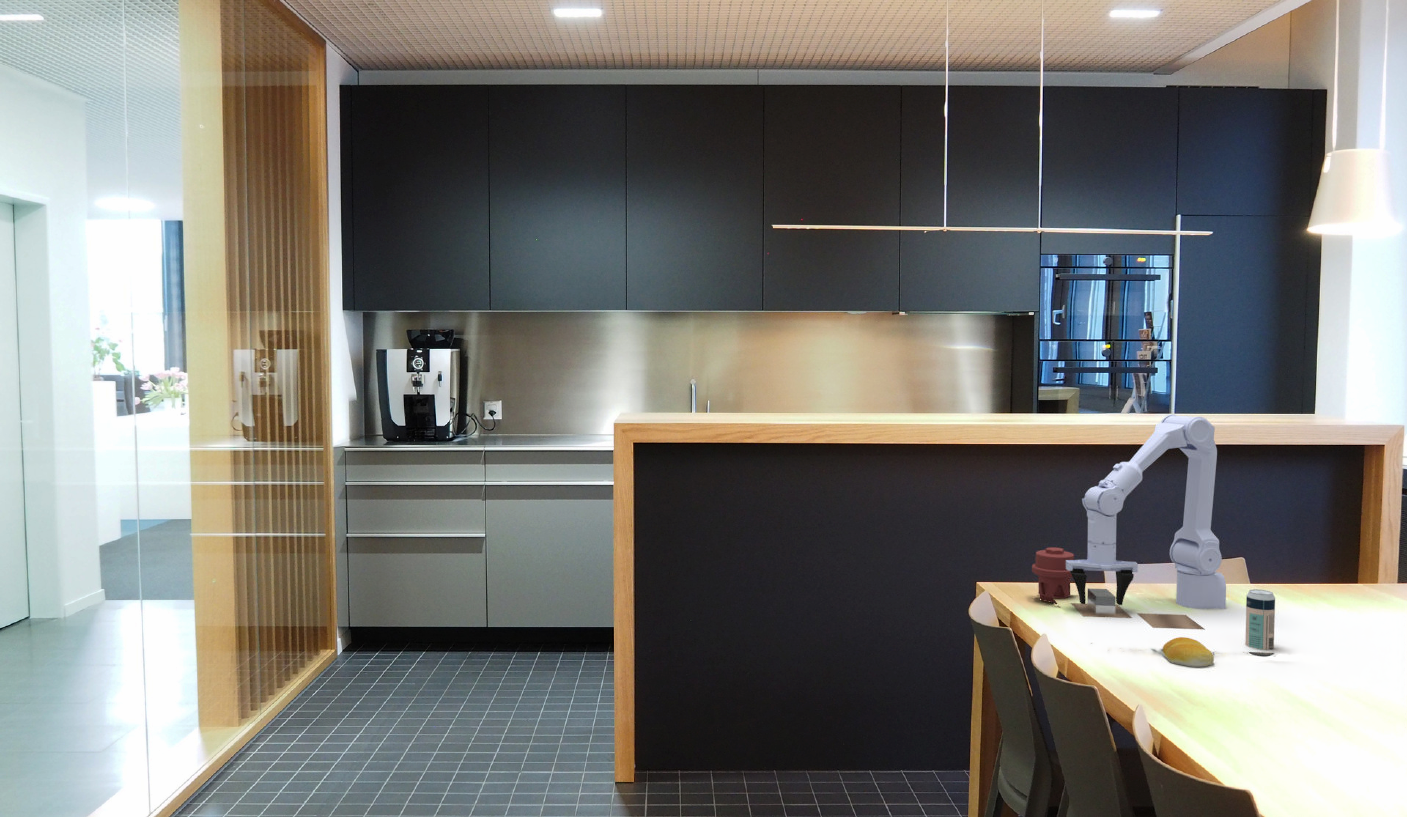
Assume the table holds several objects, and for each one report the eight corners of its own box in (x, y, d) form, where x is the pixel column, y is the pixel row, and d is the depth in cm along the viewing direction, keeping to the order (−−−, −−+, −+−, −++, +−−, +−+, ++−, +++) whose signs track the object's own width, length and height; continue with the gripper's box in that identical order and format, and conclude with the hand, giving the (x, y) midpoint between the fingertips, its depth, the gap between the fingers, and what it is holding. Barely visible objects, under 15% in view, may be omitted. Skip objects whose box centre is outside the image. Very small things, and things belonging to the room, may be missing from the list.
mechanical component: (1067, 595, 224) (1083, 606, 214) (1025, 595, 225) (1039, 606, 215) (1068, 544, 224) (1084, 553, 214) (1026, 544, 224) (1040, 553, 214)
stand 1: (1117, 611, 210) (1117, 604, 210) (1132, 624, 199) (1132, 617, 199) (1070, 609, 212) (1070, 603, 212) (1083, 623, 201) (1083, 616, 201)
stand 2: (1185, 621, 202) (1185, 614, 202) (1205, 636, 191) (1205, 629, 191) (1136, 620, 203) (1136, 613, 203) (1152, 634, 192) (1153, 627, 192)
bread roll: (1172, 667, 172) (1173, 646, 172) (1158, 652, 181) (1158, 632, 181) (1221, 670, 171) (1221, 648, 171) (1204, 655, 180) (1204, 634, 179)
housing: (1106, 606, 208) (1106, 588, 208) (1115, 615, 202) (1115, 596, 201) (1087, 606, 209) (1087, 588, 209) (1095, 614, 202) (1096, 596, 202)
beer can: (1270, 651, 181) (1272, 589, 180) (1276, 658, 176) (1278, 595, 176) (1242, 648, 182) (1243, 587, 182) (1247, 656, 178) (1249, 593, 177)
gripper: (1071, 544, 202) (1070, 607, 203) (1142, 546, 200) (1141, 609, 200) (1063, 538, 209) (1063, 598, 210) (1132, 540, 207) (1131, 600, 207)
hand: (1100, 603), depth 205 cm, fingers open, 7 cm apart
